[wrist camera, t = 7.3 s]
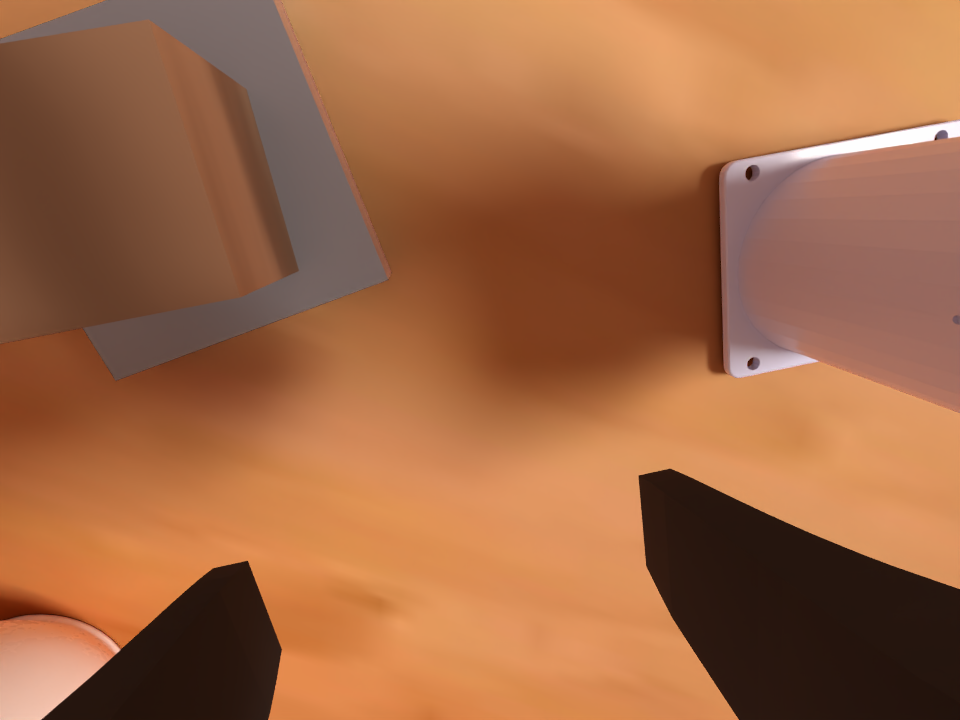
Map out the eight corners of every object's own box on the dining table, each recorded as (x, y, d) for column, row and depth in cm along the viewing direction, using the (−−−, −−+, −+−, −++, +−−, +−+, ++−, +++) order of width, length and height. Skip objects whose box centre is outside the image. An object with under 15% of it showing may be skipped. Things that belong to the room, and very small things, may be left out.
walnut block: (246, 88, 13) (148, 18, 9) (299, 270, 15) (240, 297, 10) (58, 120, 13) (-150, 67, 8) (131, 303, 15) (-10, 346, 10)
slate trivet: (278, -10, 15) (251, -53, 12) (393, 271, 18) (388, 279, 15) (-1, 92, 15) (-82, 69, 12) (157, 358, 18) (115, 380, 15)
